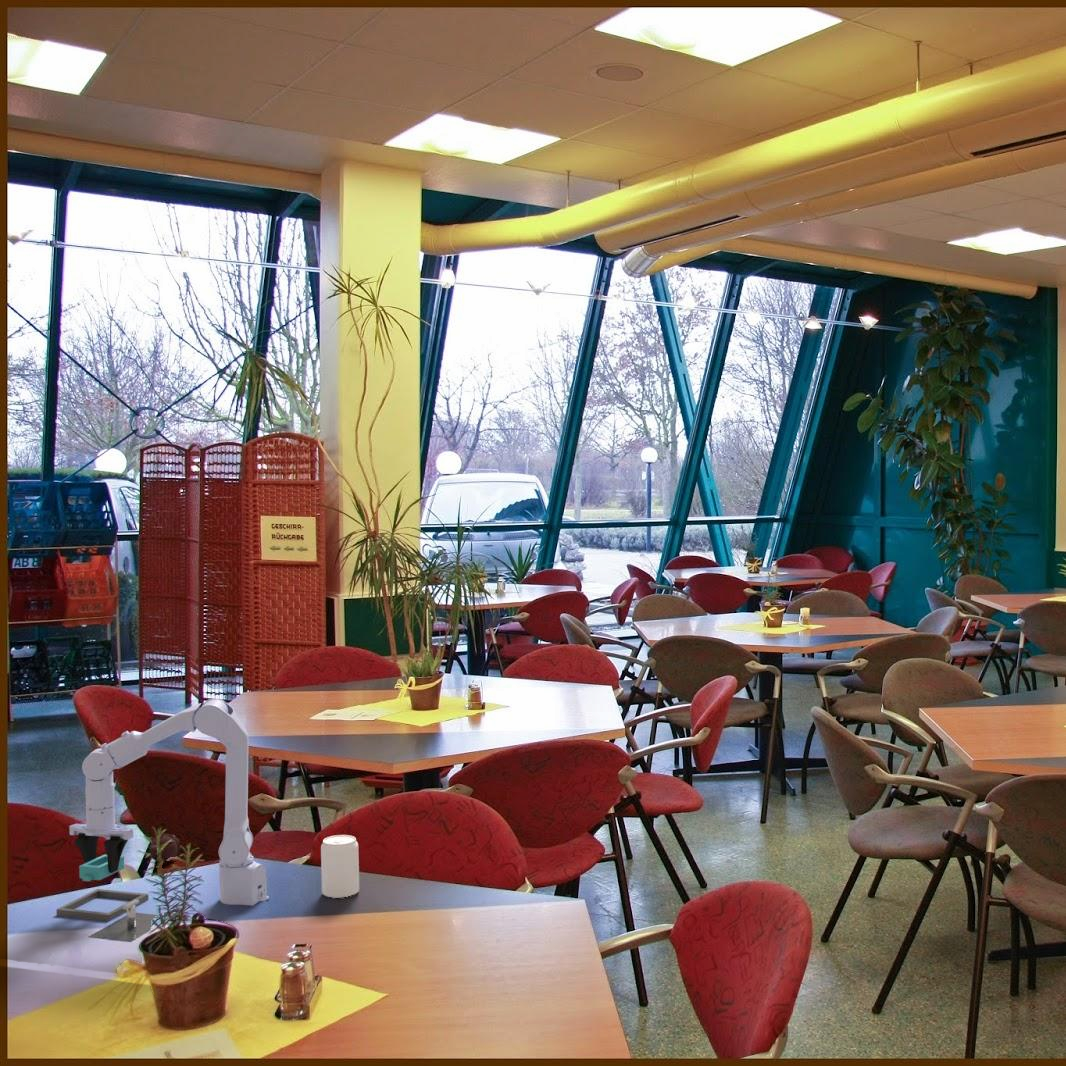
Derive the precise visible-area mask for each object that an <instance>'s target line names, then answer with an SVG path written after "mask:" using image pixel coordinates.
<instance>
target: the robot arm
mask: <svg viewBox="0 0 1066 1066" xmlns="http://www.w3.org/2000/svg"><path fill="white" fill-rule="evenodd" d="M201 704H202V705H201ZM196 730H197V731H198V732H200V733H201V734H203V735H206V736H208V737H211V738H213V739H216V740H217V741H218V742H219V743H220V744H221V745H223V746H224V747H225V749H226V750H225V790H224V791H225V796H224V797H225V800H224V801H225V803H224V804H225V805H224V807H225V808H224V809H225V810H224V825H223V838H222V841H221V842H220V843H221V844H220V845H219V848H218V856H219V862H218V865H219V866H218V867H219V868H218V869H219V899H220V900H219V901H220V903H222V904H224V905H235V906H237V905H243V906H255V905H256V904H257V903H259V902H266V901H267V900H269V898H270V897H269V896H268V884H267V882H268V881H267V876H268V875H267V868H266V867H265V865H264V864H262V863H259V862H256V861H255V857H254V856H253V855H252V853H251V852H250V850H251V848H252V846H253V843H254V835H253V833H252V832H251V829H250V826H249V825H250V823H249V822H250V819H249V817H248V812H249V811H248V810H249V809H248V806H249V805H248V804H249V803H248V801H249V799H248V798H249V750H250V749H249V742H250V741H249V740H250V739H249V738H250V736H249V733H248V731H247V729H246V728H245V726H244V725H243V723H242V721H241V720H240V718H239V717H238V715H237V713H236V710H235V709H234V707H233V706H232V705H230V704H229V703H227V702H226V701H225V700H223V699H222V698H217V697H213V698H209V699H207V700H206V701H205V702H203V703H200V702H199V703H198V704H195V705H192V706H190V707H187V708H185V709H183V710H181V711H179V712H177V713H176V714H174V715H172V716H169V718H167V719H165V720H163V721H162V722H160V723H157V724H156V725H154V726H153V727H151V728H149V729H147V730H145V731H143V732H140V731H137V730H132V731H128V730H126V731H124V732H122V733H121V736H120V737H118V738H117V739H115V740H113V741H111V742H109V743H107V742H105V743H103V744H101V745H100V748H96V749H94V750H93V751H92V752H90V753H89V754H88V755H87V756H86V757H85V758H84V760H83V762H82V765H81V769H82V773H83V775H84V777H85V815H86V817H85V818H86V820H85V823H75V824H71V825H69V835H70V836H75V835H77V838H75V839H74V840H73V842H74V845H75V846H76V847H77V848H78V850H79V852H80V854H81V856H82V859H83V862H84V864H85V863H87V862H89V861H91V860H93V859H96V858H97V848H98V842H99V837H102V838H109V839H107V840H104V841H102V842H103V845H104V849H105V853H106V855H107V858H108V870H109V873H113V872H115V871H117V870H118V866H119V861H120V857H121V856H122V854H123V851H124V849H125V847H126V845H127V843H128V842H129V840H131V839H133V838H134V828H132V827H127V826H122V825H119V824H116V805H115V803H116V800H115V783H114V770H120V769H122V768H124V767H125V766H127V765H129V764H130V763H133V762H134V761H136V760H138V759H140V758H142V757H144V756H146V755H147V753H148V750H149V748H150V747H151V746H152V745H155V744H156V743H158V742H161V741H163V740H165V739H166V738H169V737H170V736H171V737H172V735H175V734H177V733H178V732H181V731H184V732H185V731H186V732H192V733H195V731H196Z"/></svg>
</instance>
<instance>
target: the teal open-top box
mask: <svg viewBox="0 0 1066 1066" xmlns="http://www.w3.org/2000/svg"><path fill="white" fill-rule="evenodd" d="M78 867H79V872H78V873H79V879H82V881H83V882H91V881H93V880H94V881H102V880H103V879H105V878H107V877H110V876H111V875H114V874H115V873H118V872H119V871H122V870H123V869H125V856H123V855H121V857H120V861H119V866H118V870H117V871H115V872H113V873H109V870H108V858H107V854H102V855H100V856H98V857H96V859H93V860H91V861H89V862H87V863H85V862H84V863H83V864H81V865H79V866H78Z"/></svg>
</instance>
